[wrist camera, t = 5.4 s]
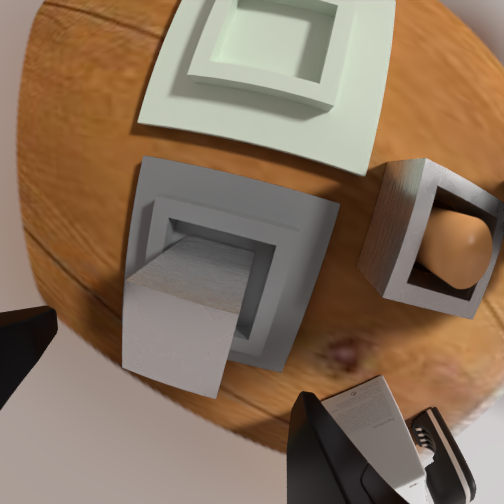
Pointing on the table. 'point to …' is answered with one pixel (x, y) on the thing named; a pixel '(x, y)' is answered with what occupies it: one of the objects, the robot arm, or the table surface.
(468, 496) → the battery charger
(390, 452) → the small box
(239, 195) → the charcoal socket
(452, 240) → the tan egg
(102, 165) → the table surface
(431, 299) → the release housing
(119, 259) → the table surface
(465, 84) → the table surface
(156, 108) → the pale green socket
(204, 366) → the steel peg
